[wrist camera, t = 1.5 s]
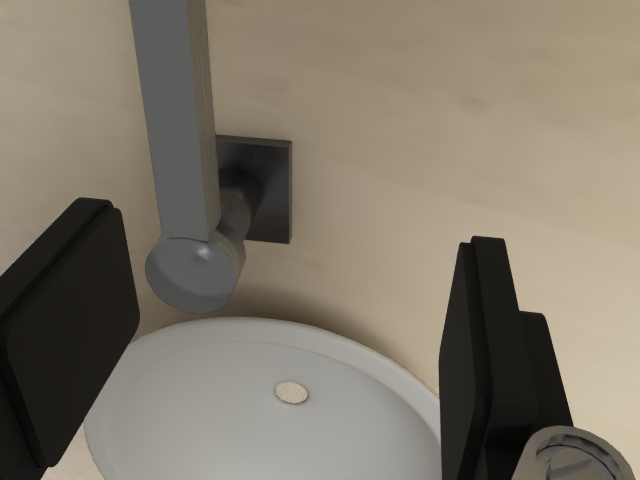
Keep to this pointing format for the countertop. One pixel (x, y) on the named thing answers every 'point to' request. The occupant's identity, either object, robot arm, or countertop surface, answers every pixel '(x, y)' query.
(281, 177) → the dark grey faucet base
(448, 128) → the countertop surface
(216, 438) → the round sink basin
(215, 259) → the rail
